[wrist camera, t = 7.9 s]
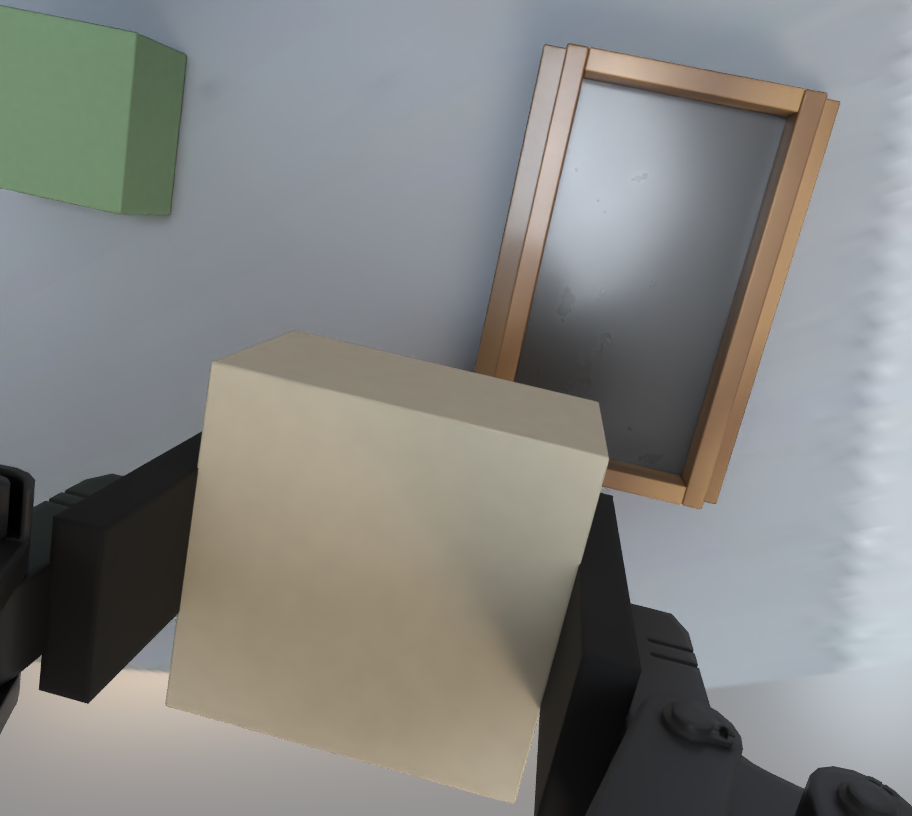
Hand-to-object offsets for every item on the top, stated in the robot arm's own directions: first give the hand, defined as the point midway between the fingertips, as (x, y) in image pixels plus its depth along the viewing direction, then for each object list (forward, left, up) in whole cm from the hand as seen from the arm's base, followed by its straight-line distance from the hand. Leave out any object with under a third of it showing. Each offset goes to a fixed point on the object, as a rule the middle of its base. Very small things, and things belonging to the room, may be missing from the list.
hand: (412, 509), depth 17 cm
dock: (+5, +5, -17) cm, 19 cm away
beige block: (0, 0, 0) cm, 0 cm away
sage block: (-18, +7, -17) cm, 26 cm away
